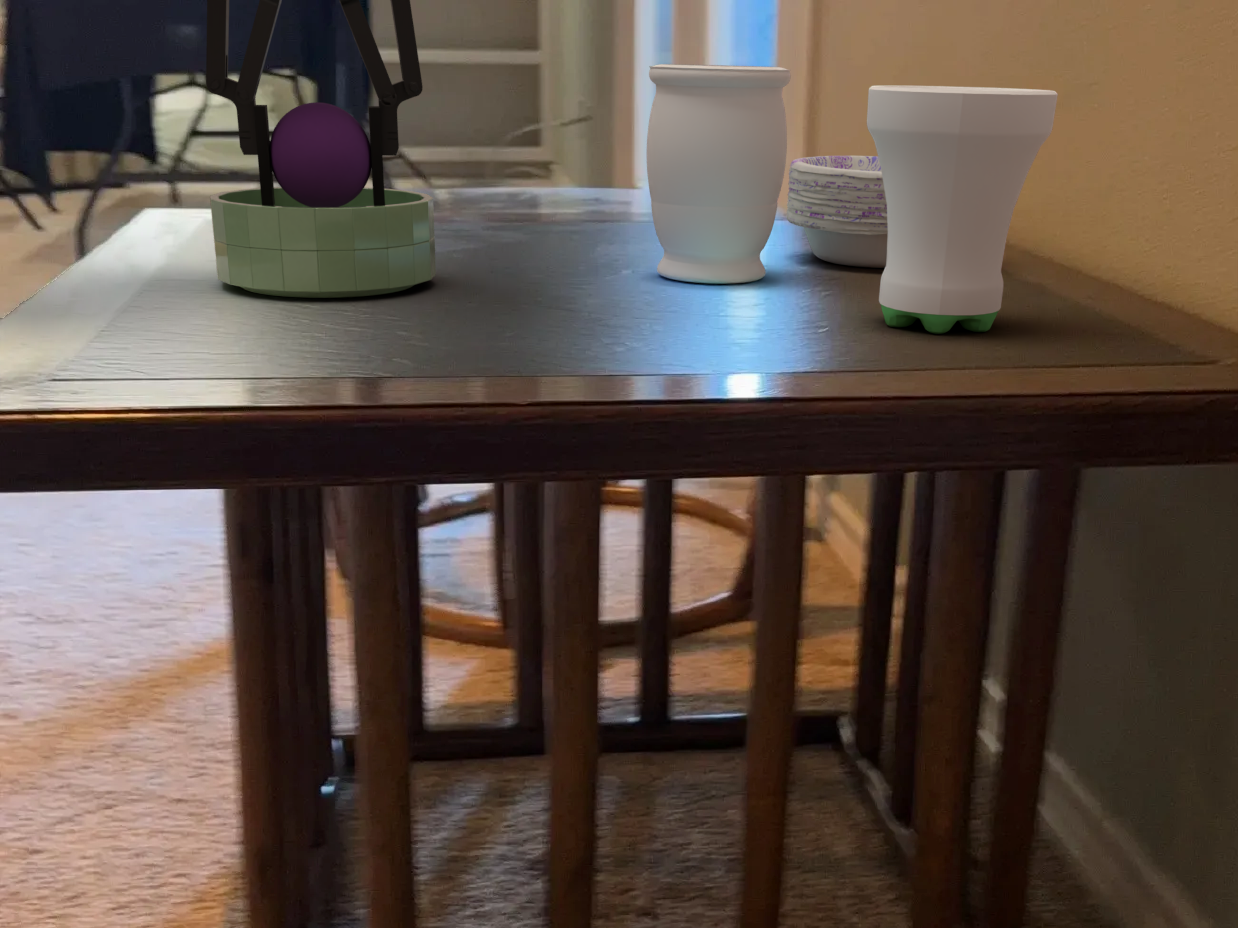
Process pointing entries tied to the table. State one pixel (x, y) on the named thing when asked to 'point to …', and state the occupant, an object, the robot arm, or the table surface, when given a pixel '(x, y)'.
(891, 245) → the cup
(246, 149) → the robot arm
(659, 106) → the jar
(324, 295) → the bowl
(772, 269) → the table surface
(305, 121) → the ball
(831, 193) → the paper bowls
